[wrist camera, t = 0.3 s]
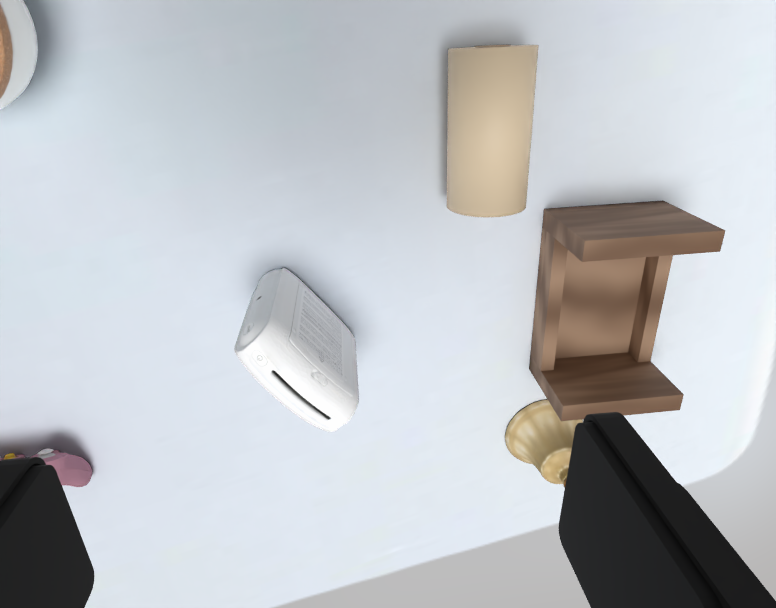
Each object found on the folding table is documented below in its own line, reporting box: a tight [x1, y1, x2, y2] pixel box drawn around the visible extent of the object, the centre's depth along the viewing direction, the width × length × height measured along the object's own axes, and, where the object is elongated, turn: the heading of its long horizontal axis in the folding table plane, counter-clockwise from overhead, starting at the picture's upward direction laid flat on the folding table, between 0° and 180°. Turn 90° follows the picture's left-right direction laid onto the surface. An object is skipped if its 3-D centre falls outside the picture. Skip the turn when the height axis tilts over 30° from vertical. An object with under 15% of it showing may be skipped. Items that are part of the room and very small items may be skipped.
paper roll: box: [447, 45, 538, 217], centre depth 38 cm, size 11×6×6 cm, turn 2°
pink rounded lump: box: [0, 448, 92, 487], centre depth 48 cm, size 10×5×7 cm, turn 95°
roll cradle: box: [529, 201, 725, 421], centre depth 45 cm, size 16×10×8 cm, turn 2°
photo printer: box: [234, 268, 359, 432], centre depth 41 cm, size 10×4×12 cm, turn 39°
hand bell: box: [505, 399, 583, 487], centre depth 48 cm, size 8×8×16 cm
